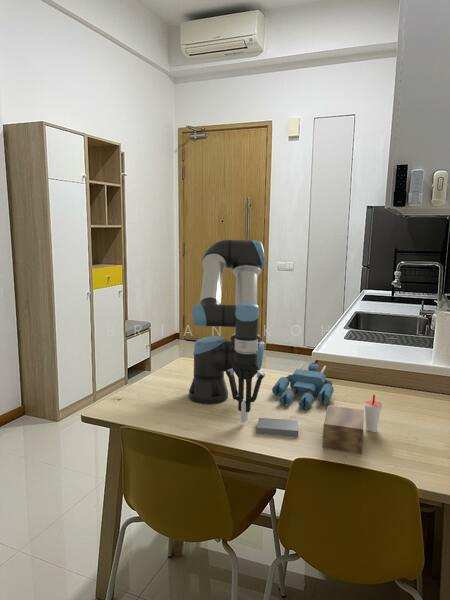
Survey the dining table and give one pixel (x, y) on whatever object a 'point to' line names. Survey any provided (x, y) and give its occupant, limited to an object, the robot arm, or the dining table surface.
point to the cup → (372, 414)
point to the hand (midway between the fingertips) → (244, 420)
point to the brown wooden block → (343, 429)
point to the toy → (304, 386)
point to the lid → (277, 427)
